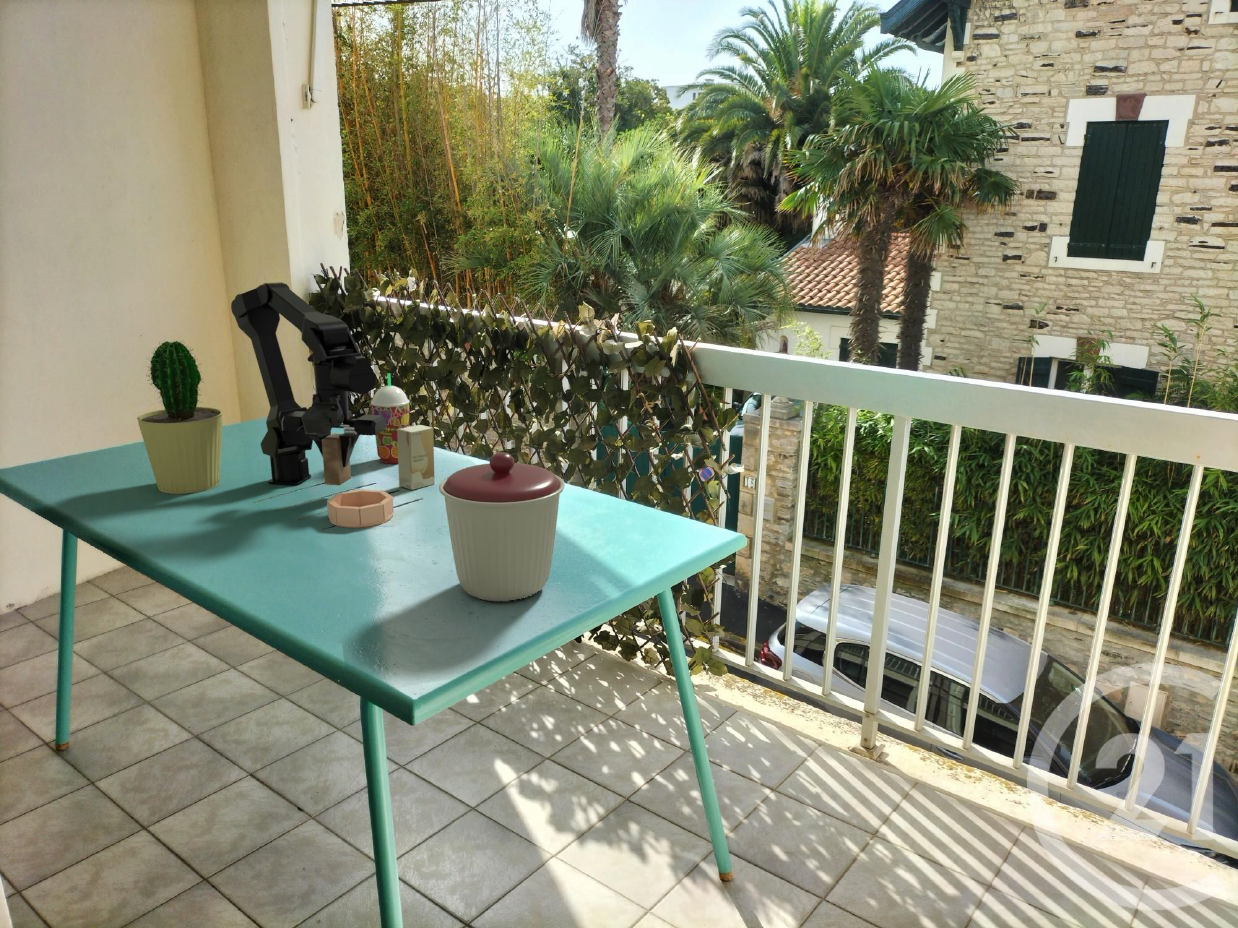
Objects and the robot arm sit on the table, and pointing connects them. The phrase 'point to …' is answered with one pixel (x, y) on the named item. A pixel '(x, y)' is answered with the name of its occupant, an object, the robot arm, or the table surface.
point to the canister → (502, 526)
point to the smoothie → (390, 419)
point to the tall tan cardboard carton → (334, 461)
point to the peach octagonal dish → (360, 508)
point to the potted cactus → (181, 425)
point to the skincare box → (416, 456)
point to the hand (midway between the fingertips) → (337, 466)
